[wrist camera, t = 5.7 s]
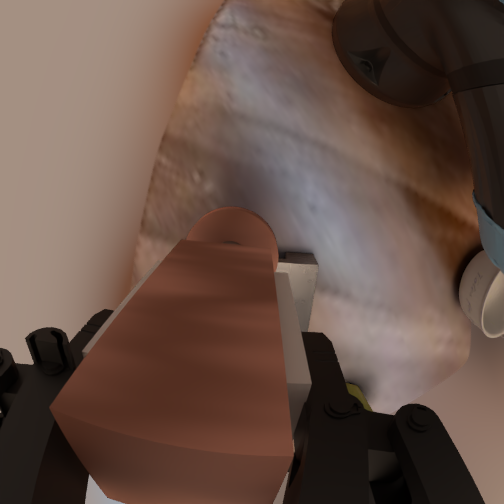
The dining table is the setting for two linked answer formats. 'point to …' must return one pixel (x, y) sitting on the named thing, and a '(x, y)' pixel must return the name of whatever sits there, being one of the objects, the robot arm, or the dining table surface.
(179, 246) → the peg
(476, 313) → the teacup
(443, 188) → the dining table surface
